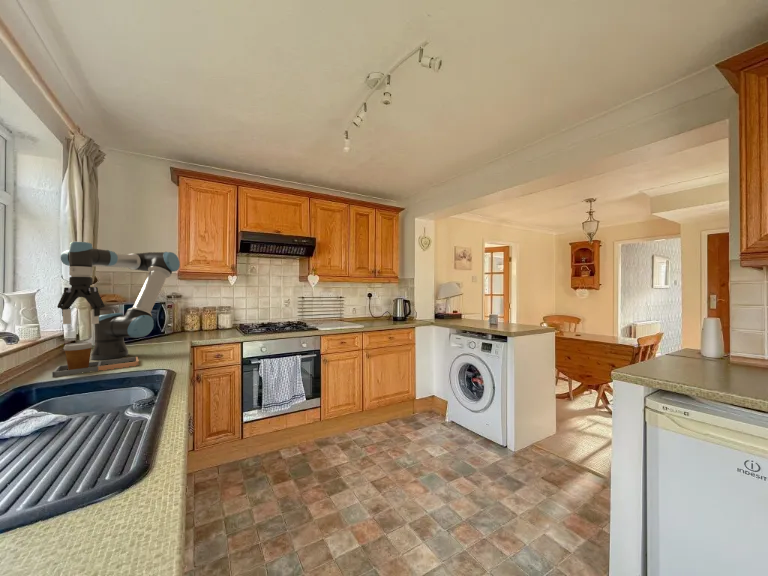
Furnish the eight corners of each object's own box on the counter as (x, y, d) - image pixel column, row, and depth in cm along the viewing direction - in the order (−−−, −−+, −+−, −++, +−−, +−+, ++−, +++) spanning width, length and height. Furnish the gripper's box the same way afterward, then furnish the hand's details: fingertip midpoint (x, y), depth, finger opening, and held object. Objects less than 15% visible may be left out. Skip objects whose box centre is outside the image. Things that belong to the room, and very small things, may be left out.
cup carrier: (58, 370, 144) (58, 365, 144) (137, 360, 162) (137, 356, 162) (52, 377, 132) (52, 372, 132) (138, 365, 150) (138, 361, 150)
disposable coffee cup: (94, 370, 143) (93, 343, 143) (64, 374, 136) (63, 346, 136) (91, 367, 149) (91, 341, 149) (63, 371, 142) (62, 344, 142)
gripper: (46, 276, 141) (46, 324, 140) (98, 275, 139) (98, 324, 138) (64, 277, 148) (64, 323, 148) (114, 276, 146) (114, 322, 146)
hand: (81, 323), depth 143 cm, fingers open, 13 cm apart
